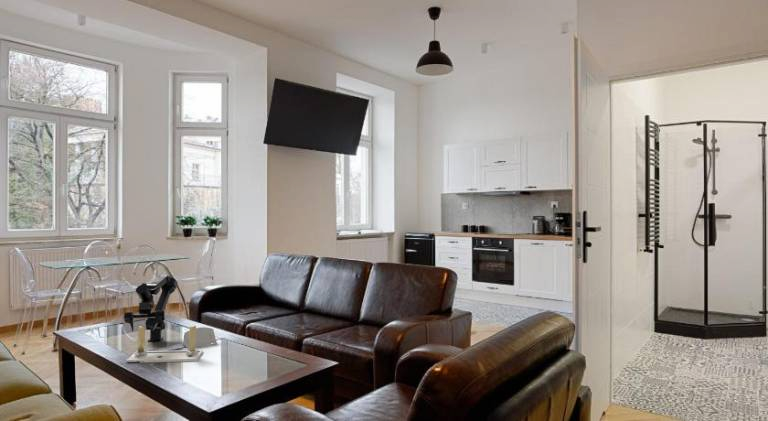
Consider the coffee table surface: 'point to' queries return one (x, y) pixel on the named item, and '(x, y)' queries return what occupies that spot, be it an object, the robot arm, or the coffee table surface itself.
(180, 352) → the plate
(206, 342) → the grey blocky piece
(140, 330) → the leg
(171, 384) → the coffee table surface
